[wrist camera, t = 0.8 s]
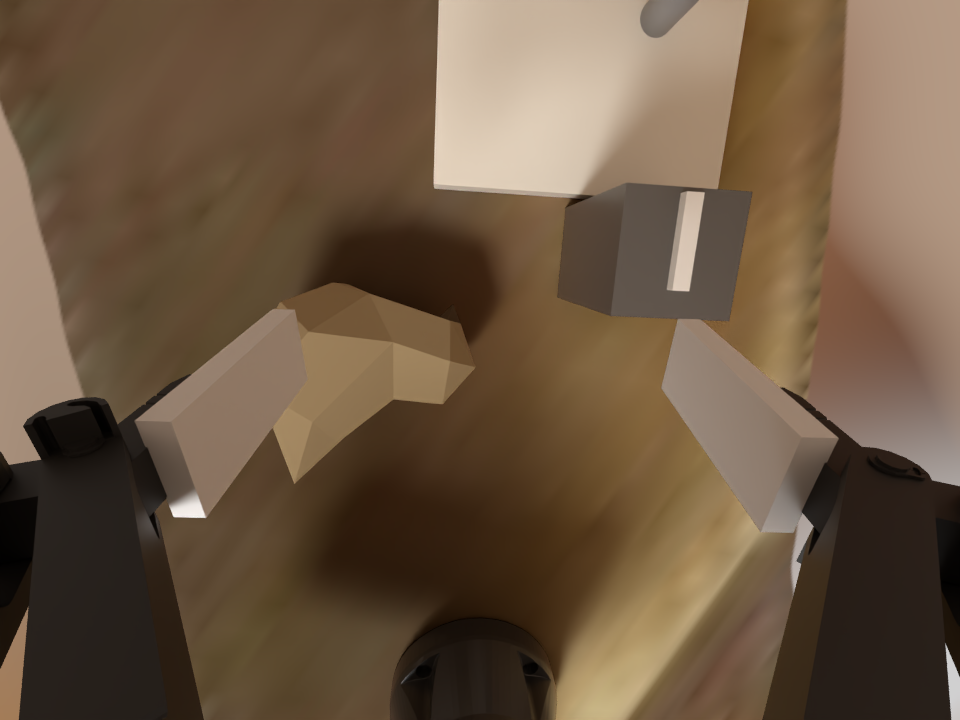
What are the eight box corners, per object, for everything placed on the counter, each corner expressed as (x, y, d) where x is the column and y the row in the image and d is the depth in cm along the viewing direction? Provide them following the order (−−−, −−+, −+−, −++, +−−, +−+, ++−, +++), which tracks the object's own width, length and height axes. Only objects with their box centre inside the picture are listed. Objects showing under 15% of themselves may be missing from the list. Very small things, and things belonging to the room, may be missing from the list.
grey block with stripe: (639, 301, 35) (736, 322, 23) (557, 297, 34) (614, 317, 23) (651, 213, 33) (760, 189, 22) (565, 207, 33) (631, 180, 21)
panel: (699, 207, 33) (764, 194, 27) (434, 188, 32) (431, 169, 25) (738, -42, 30) (825, -130, 23) (442, -78, 28) (441, -186, 21)
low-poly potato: (257, 395, 34) (344, 512, 31) (156, 345, 24) (270, 513, 21) (407, 280, 37) (499, 376, 34) (374, 191, 27) (502, 318, 24)
